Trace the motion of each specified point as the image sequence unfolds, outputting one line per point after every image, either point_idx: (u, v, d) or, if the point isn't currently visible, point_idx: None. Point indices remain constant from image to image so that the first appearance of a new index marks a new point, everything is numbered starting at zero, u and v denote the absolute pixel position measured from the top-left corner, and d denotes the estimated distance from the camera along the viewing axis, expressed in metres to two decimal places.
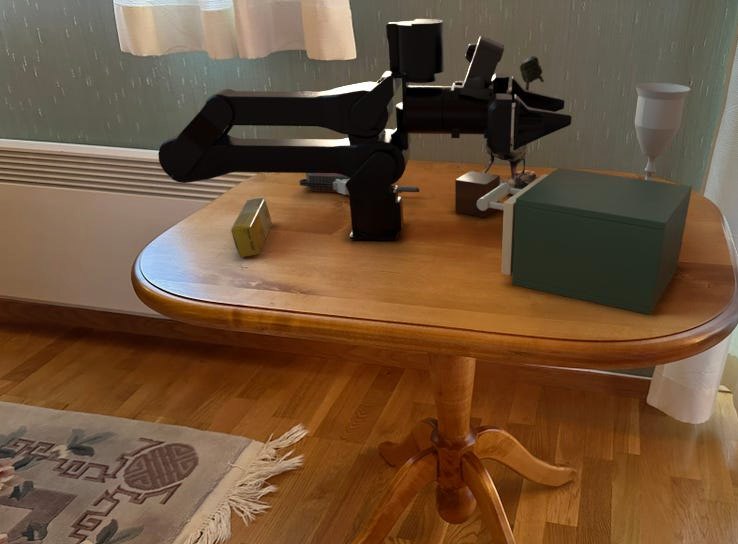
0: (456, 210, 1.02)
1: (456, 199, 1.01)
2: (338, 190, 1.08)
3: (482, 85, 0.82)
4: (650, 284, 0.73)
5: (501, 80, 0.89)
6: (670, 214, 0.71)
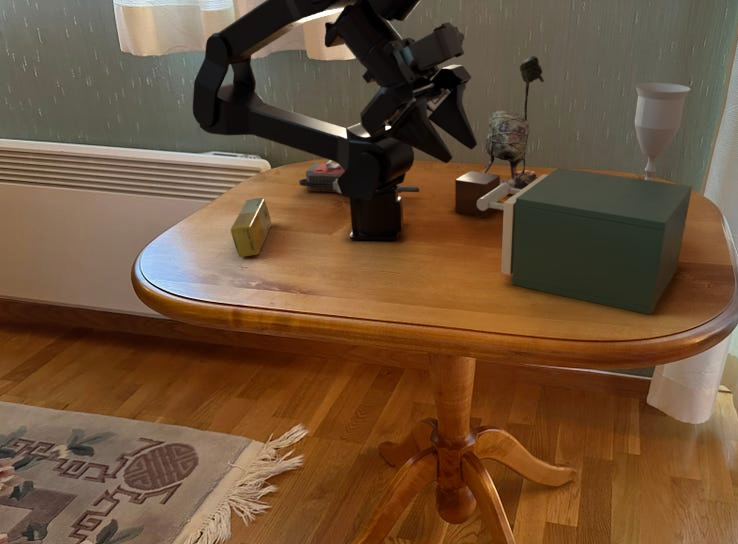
0: (456, 210, 1.02)
1: (456, 199, 1.01)
2: (338, 190, 1.08)
3: (412, 65, 0.78)
4: (650, 284, 0.73)
5: (453, 76, 0.85)
6: (670, 214, 0.71)
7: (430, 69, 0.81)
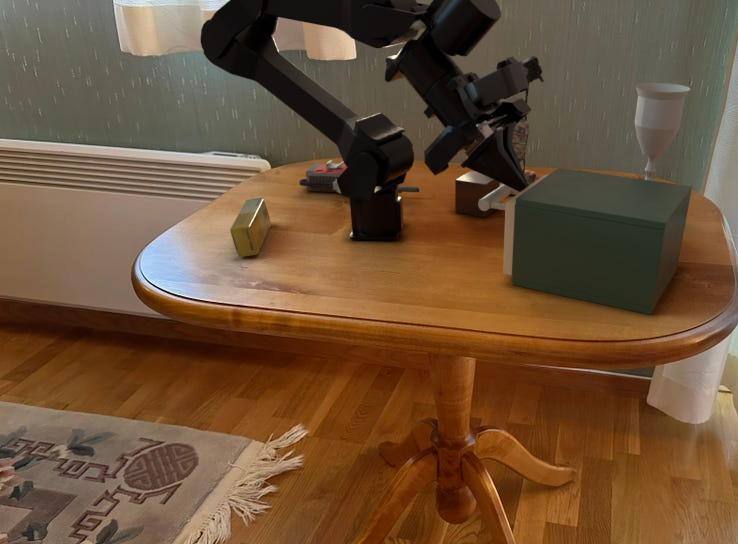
0: (456, 210, 1.02)
1: (456, 199, 1.01)
2: (338, 190, 1.08)
3: (476, 101, 0.76)
4: (650, 284, 0.73)
5: (514, 109, 0.83)
6: (670, 214, 0.71)
7: (492, 104, 0.80)
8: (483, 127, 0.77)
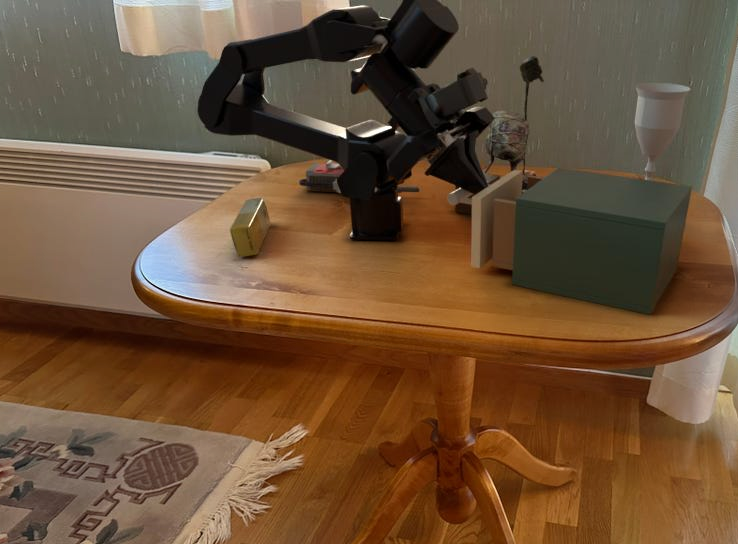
0: (456, 210, 1.02)
1: None
2: (338, 190, 1.08)
3: (436, 111, 0.79)
4: (650, 284, 0.73)
5: (476, 118, 0.86)
6: (670, 214, 0.71)
7: (454, 114, 0.83)
8: (444, 136, 0.80)
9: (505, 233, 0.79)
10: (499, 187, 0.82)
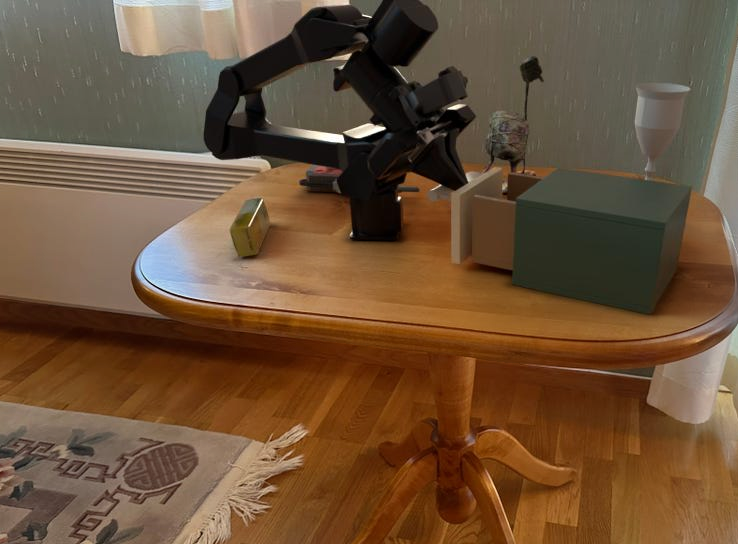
0: None
1: None
2: (338, 190, 1.08)
3: (417, 109, 0.80)
4: (650, 284, 0.73)
5: (458, 116, 0.87)
6: (670, 214, 0.71)
7: (435, 111, 0.84)
8: (425, 133, 0.81)
9: (484, 229, 0.80)
10: (479, 184, 0.83)
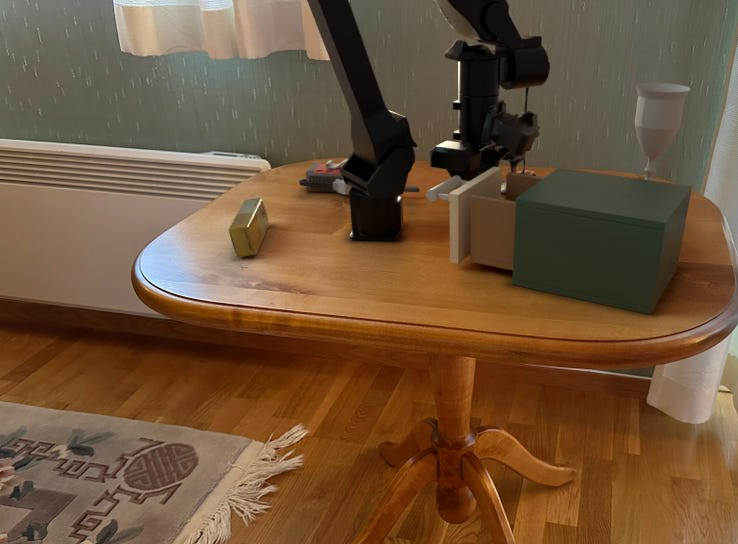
0: None
1: None
2: (338, 190, 1.08)
3: (492, 135, 0.93)
4: (650, 284, 0.73)
5: None
6: (670, 214, 0.71)
7: None
8: None
9: (482, 229, 0.80)
10: (477, 183, 0.83)
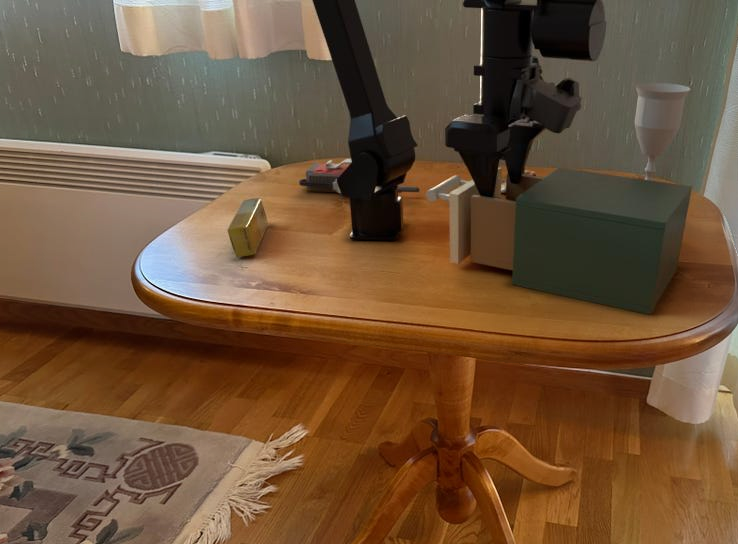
0: None
1: None
2: (338, 190, 1.08)
3: (524, 108, 0.74)
4: (650, 284, 0.73)
5: None
6: (670, 214, 0.71)
7: None
8: None
9: (482, 229, 0.80)
10: None
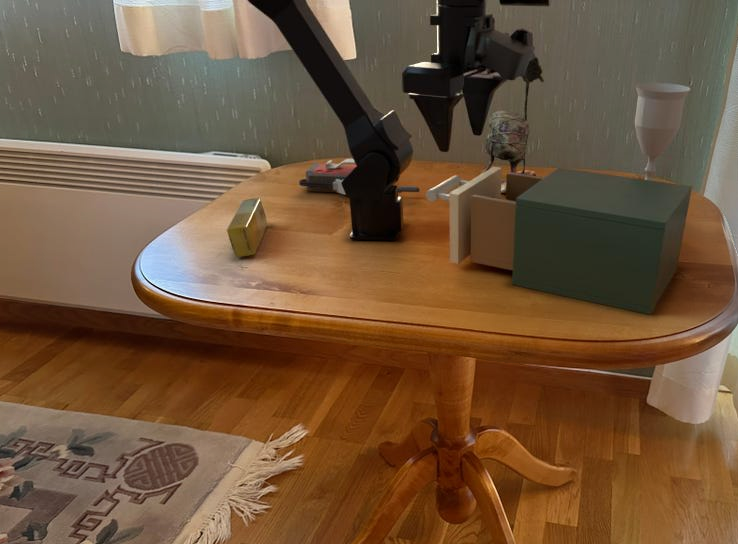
0: None
1: None
2: (338, 190, 1.08)
3: (478, 55, 0.77)
4: (650, 284, 0.73)
5: None
6: (670, 214, 0.71)
7: None
8: None
9: (482, 229, 0.80)
10: (477, 183, 0.83)
